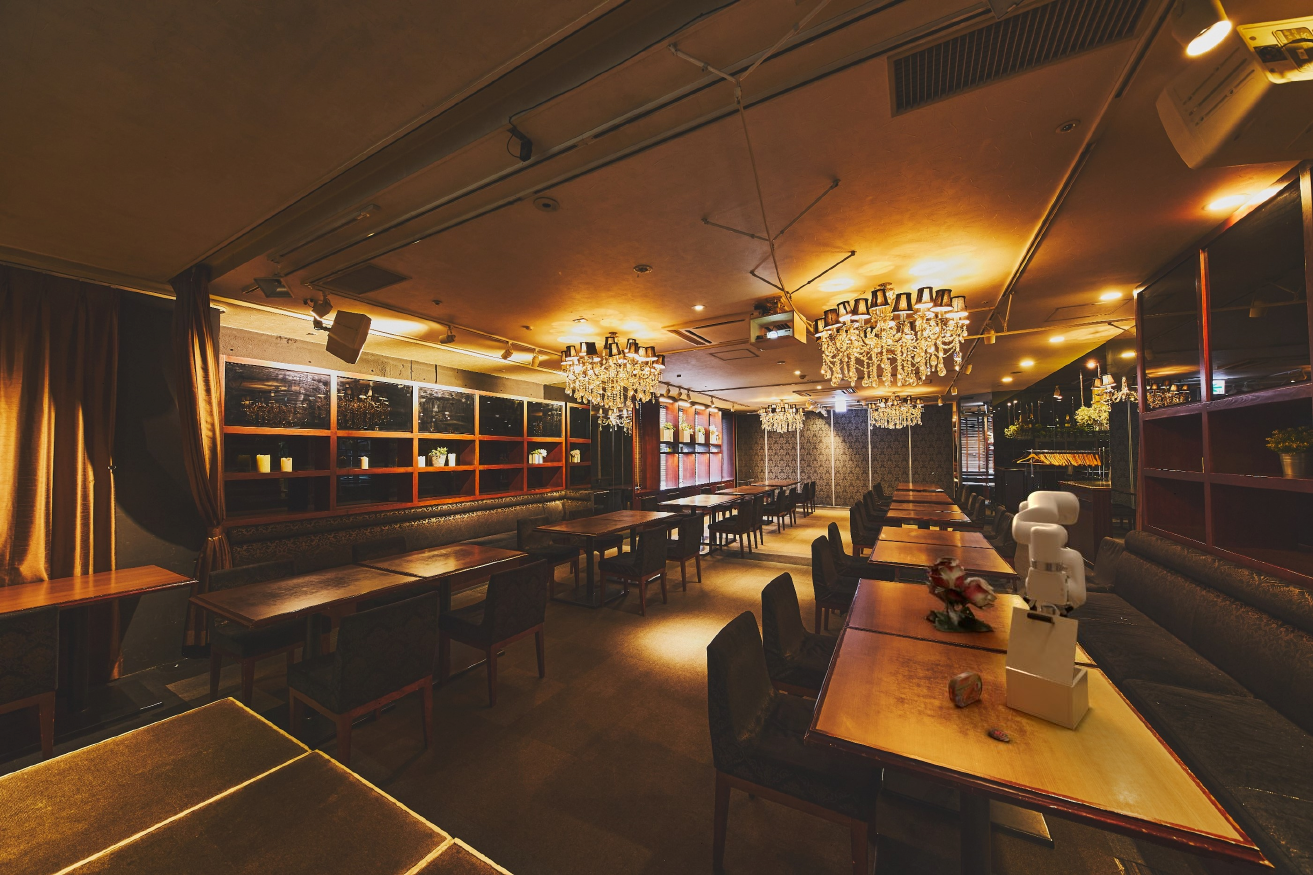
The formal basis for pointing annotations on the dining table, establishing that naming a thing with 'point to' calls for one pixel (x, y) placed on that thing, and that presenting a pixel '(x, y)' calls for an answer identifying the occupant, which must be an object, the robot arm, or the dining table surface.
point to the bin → (1049, 696)
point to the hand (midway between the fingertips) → (1048, 621)
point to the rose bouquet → (958, 597)
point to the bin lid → (1042, 645)
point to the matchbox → (998, 734)
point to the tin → (965, 688)
